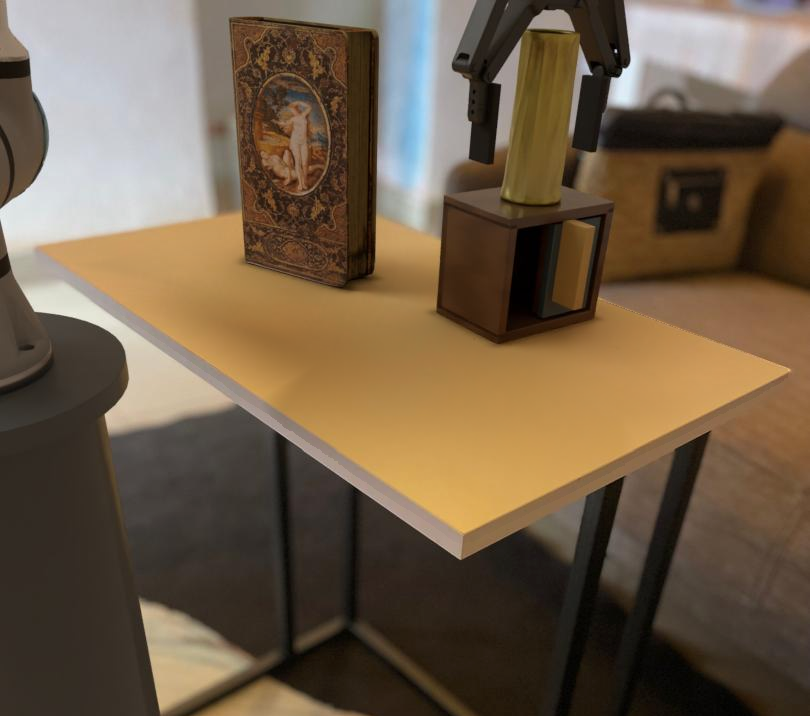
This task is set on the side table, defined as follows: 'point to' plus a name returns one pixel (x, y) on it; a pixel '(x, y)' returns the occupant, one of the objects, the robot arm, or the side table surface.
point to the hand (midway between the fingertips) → (534, 156)
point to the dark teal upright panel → (568, 265)
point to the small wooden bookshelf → (509, 261)
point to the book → (307, 145)
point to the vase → (541, 117)
